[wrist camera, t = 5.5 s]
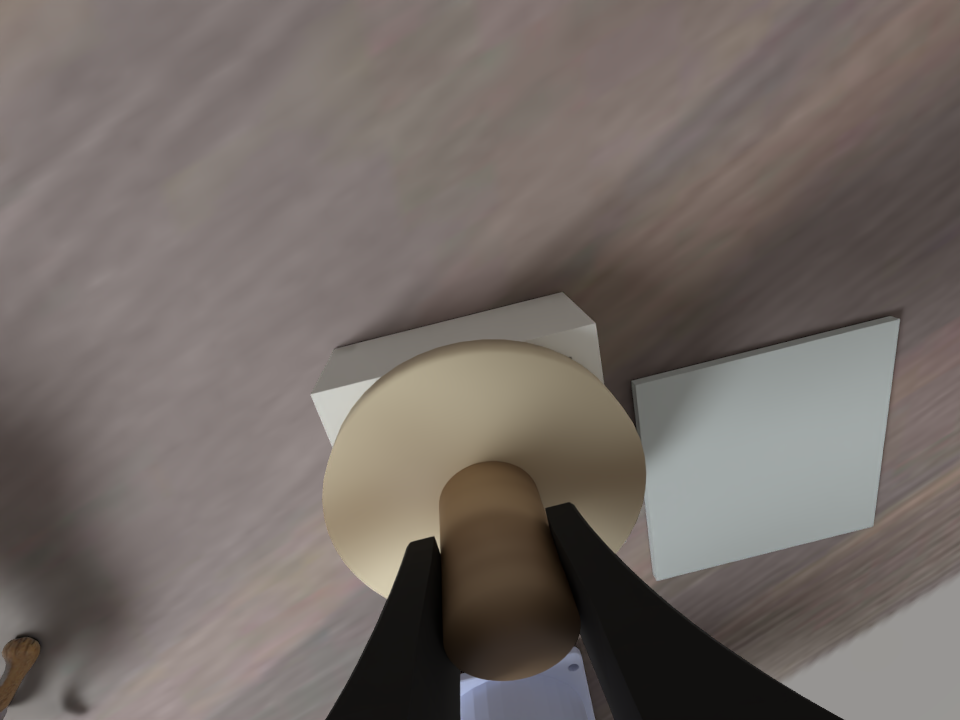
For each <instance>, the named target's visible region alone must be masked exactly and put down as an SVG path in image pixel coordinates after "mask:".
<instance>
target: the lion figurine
mask: <svg viewBox="0 0 960 720" xmlns="http://www.w3.org/2000/svg"><path fill="white" fill-rule="evenodd" d="M39 653H40V645H39V643H38V642H37V641H36V640H34V639H32V638H30V637H23V638H18V639H13V640H11V641H10V642H8V643H7V644H6V645H5V647H4V648H3V651H2V656H3V658H4V660H5V662H6V668H5V671H4V673H3V675H2V677H1V679H0V720H3V719H4V717H5V714H6V712H7V706H8V705H9V703H10V702H11V700H12V699H13V697H14V695H15V693H16V691H17V689H18V687H19V685H20V683H21V681H22V680H23V678H24V676H25V675H26V673H27V672H28V671H29V670H30V668H31V667H32V665H33V664H34V663H35V661H36V659H37V658H38V656H39Z"/></svg>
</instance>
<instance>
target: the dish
mask: <svg viewBox="0 0 960 720" xmlns="http://www.w3.org/2000/svg"><path fill="white" fill-rule="evenodd" d="M481 339H505V340H512V341H520V342H527V343H531V344H534V345H538V346H542V347H546V348H549V349H551V350H553V351H556V352H558V353H561V354H563V355H565V356H567V357H569V358H571V359H572V360H574V361H576V362H577V363H579V364H581V365H582V366H584V367H585V368H586V369H587V370H589V371H590V372H591V373H592V374H594V375H595V376H596V377H597V378H598V379H599V380H600V381H601V382H602V383H603V384H604V379H603V372H602V365H601V358H600V350H599V343H598V336H597V329H596V323H595V322H594V321H593V320H592V319H591V318H590V317H589V316H588V315H587V314H586V313H584V312H583V311H582V310H581V309H580V308H579V307H578V306H577V305H576V304H575V303H574V302H573V301H572V300H571V299H570V298H569V297H568V296H567V295H565V294H564V293H563V292H560V293H556V294H552V295H548V296H544V297H540V298H536V299H532V300H528V301H524V302H520V303H516V304H512V305H508V306H504V307H500V308H496V309H492V310H488V311H484V312H480V313H476V314H472V315H468V316H464V317H460V318H456V319H452V320H448V321H444V322H440V323H436V324H432V325H428V326H424V327H420V328H416V329H412V330H408V331H404V332H400V333H396V334H392V335H388V336H384V337H380V338H376V339H372V340H368V341H364V342H360V343H356V344H352V345H348V346H344V347H340V348H336V349H334V350H333V352H332V354H331V356H330V358H329V360H328V362H327V364H326V366H325V368H324V369H323V371H322V373H321V375H320V377H319V379H318V381H317V383H316V385H315V387H314V389H313V391H312V393H311V397H312V399H313V402H314V404H315V406H316V409H317V411H318V414H319V416H320V418H321V421H322V423H323V426H324V428H325V431H326V433H327V435H328V438H329V440H330V443H331V445H332V447H333V445H334V442H335V440H336V437H337V435H338V432H339V430H340V428H341V425H342V423H343V422H344V420H345V418H346V417H347V415H348V413H349V412H350V410H351V408H352V407H353V406H354V405H355V403H356V402H357V401H358V400H359V398H360V397H361V396H362V395H363V393H364V392H365V391H366V390H368V389H369V388H370V387H371V386H372V385H373V384H374V383H375V382H376V381H377V380H378V379H379V378H381V377H382V376H383V375H385V374H386V373H388V372H389V371H391V370H392V369H393V368H395V367H396V366H398V365H400V364H401V363H403V362H405V361H407V360H409V359H411V358H413V357H415V356H417V355H419V354H422V353H424V352H427V351H430V350H432V349H435V348H437V347H441V346H446V345H450V344H454V343H458V342H464V341H472V340H481ZM625 542H626V541H625ZM625 542H624V543H625Z"/></svg>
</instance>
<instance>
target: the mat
mask: <svg viewBox="0 0 960 720" xmlns="http://www.w3.org/2000/svg"><path fill="white" fill-rule="evenodd" d="M899 323H900V319H898V318H895V317H892V316H888V317H884V318H880V319H876V320H872V321H868V322H864V323H860V324H856V325H852V326H848V327H844V328H840V329H836V330H832V331H828V332H824V333H820V334H816V335H812V336H808V337H804V338H800V339H796V340H792V341H788V342H784V343H780V344H776V345H772V346H768V347H764V348H760V349H756V350H752V351H748V352H744V353H740V354H736V355H732V356H728V357H724V358H720V359H716V360H712V361H708V362H704V363H700V364H696V365H692V366H688V367H684V368H680V369H676V370H672V371H668V372H664V373H660V374H656V375H652V376H648V377H644V378H640V379H636V380H632V381H631V383H632V392H633V401H634V410H635V419H636V428H637V433H638V435H639V437H640V440H641V444H642V447H643V451H644V455H645V463H646V489H645V494H644V499H645V508H646V517H647V526H648V534H649V543H650V552H651V561H652V570H653V575H654V577H655V579H656V580H657V581H659V580H663V579H667V578H671V577H675V576H679V575H682V574H686V573H690V572H694V571H698V570H702V569H706V568H710V567H714V566H718V565H722V564H726V563H730V562H734V561H738V560H742V559H746V558H750V557H754V556H758V555H762V554H766V553H770V552H774V551H778V550H782V549H785V548H789V547H793V546H797V545H801V544H805V543H809V542H813V541H817V540H821V539H825V538H829V537H833V536H837V535H841V534H845V533H849V532H853V531H857V530H861V529H865V528H869V527H873V524H874V517H875V509H876V501H877V493H878V486H879V478H880V470H881V462H882V455H883V447H884V439H885V432H886V424H887V416H888V408H889V401H890V393H891V385H892V378H893V370H894V362H895V354H896V347H897V339H898V331H899Z"/></svg>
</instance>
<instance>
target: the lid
mask: <svg viewBox="0 0 960 720" xmlns="http://www.w3.org/2000/svg"><path fill="white" fill-rule="evenodd" d="M645 489H646V463H645V455H644V451H643V447H642V444H641V440H640V437H639V435H638V433H637V431H636V428H635V426H634V424H633V422H632V421H631V419H630V418H629V416H628V415H627V413H626V412H625V410H624V409H623V407H622V406H621V405H620V403H619V402H618V401H617V400H616V398H615V397H614V396H613V394H612V393H611V392H610V391H609V390H608V388H607V387H606V386H605V385H604V384H603V383H602V382H601V381H600V380H599V379H598V378H597V377H596V376H595V375H594V374H592V373H591V372H590V371H589V370H587V369H586V368H585V367H584V366H582V365H581V364H579V363H577V362H576V361H574V360H572V359H571V358H569V357H567V356H565V355H563V354H561V353H558V352H556V351H553V350H551V349H549V348H546V347H542V346H538V345H534V344H531V343H527V342H520V341H512V340H505V339H481V340H472V341H464V342H458V343H454V344H450V345H446V346H441V347H437V348H435V349H432V350H430V351H427V352H424V353H422V354H419V355H417V356H415V357H413V358H411V359H409V360H407V361H405V362H403V363H401V364H400V365H398V366H396V367H395V368H393V369H392V370H391V371H389V372H388V373H386V374H385V375H383V376H382V377H381V378H379V379H378V380H377V381H376V382H375V383H374V384H373V385H372V386H371V387H370V388H369V389H368V390H366V391H365V392H364V393H363V395H362V396H361V397H360V398H359V400H358V401H357V402H356V403H355V405H354V406H353V407H352V408H351V410H350V412H349V413H348V415H347V417H346V418H345V420H344V422H343V423H342V425H341V428H340V430H339V432H338V435H337V437H336V440H335V442H334V445H333V448H332V452H331V455H330V458H329V461H328V464H327V468H326V473H325V477H324V481H323V496H322V502H323V512H324V519H325V523H326V526H327V530H328V533H329V536H330V538H331V540H332V542H333V545H334V547H335V549H336V551H337V552H338V554H339V555H340V557H341V558H342V560H343V561H344V563H345V564H346V565H347V566H348V568H349V569H350V570H351V571H352V572H353V573H354V574H355V575H356V576H357V577H358V578H359V579H360V580H361V581H362V582H363V583H365V584H366V585H367V586H368V587H369V588H371V589H372V590H374V591H375V592H377V593H378V594H380V595H382V596H383V597H385V598H388V596H389V594H390V591H391V589H392V586H393V584H394V581H395V579H396V576H397V573H398V571H399V568H400V565H401V562H402V560H403V557H404V554H405V551H406V548H407V546H408V544H409V543H410V542H412V541H416V540H420V539H424V538H428V537H432V536H435V539H436V542H437V545H438V548H439V551H440V554H441V583H442V619H443V644H444V649H445V652H446V654H447V656H448V658H449V659H450V661H451V662H452V663H453V664H454V665H455V666H456V667H457V668H458V669H460V670H461V671H463V672H465V673H466V674H469V675H471V676H473V677H476V678H480V679H484V680H491V681H513V680H519V679H524V678H528V677H531V676H534V675H537V674H539V673H542V672H544V671H546V670H548V669H549V668H551V667H553V666H554V665H556V664H557V663H559V662H560V661H561V660H562V659H563V658H565V657H566V655H567V654H568V653H569V652H570V651H571V650H572V648H573V647H574V645H575V643H576V642H577V640H578V637H579V634H580V629H581V620H580V615H579V612H578V609H577V606H576V603H575V600H574V597H573V594H572V591H571V588H570V585H569V582H568V580H567V577H566V574H565V571H564V569H563V566H562V564H561V561H560V559H559V555H558V552H557V549H556V546H555V543H554V540H553V537H552V534H551V531H550V528H549V524H548V520H547V515H546V511H545V508H547V507H551V506H555V505H559V504H563V503H567V502H570V503H572V504H574V505H575V507H576V508H577V510H578V511H579V512H580V514H581V515H582V516H583V518H584V519H585V520H586V521H587V523H588V524H589V525H590V526H591V528H592V529H593V530H594V531H595V532H596V533H597V534H598V536H599V537H600V538H601V539H602V540H603V541H604V542H605V543H606V545H607V546H608V547H609V548H610V549H611V550H612V551H613V552H614V553H615V554H616V553H617V552H618V551H619V550H620V548H621V547H622V545H623V544H624V542H625V541H626V540H627V538H628V536H629V535H630V533H631V531H632V529H633V527H634V525H635V523H636V521H637V518H638V516H639V513H640V510H641V507H642V504H643V499H644V494H645Z"/></svg>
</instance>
